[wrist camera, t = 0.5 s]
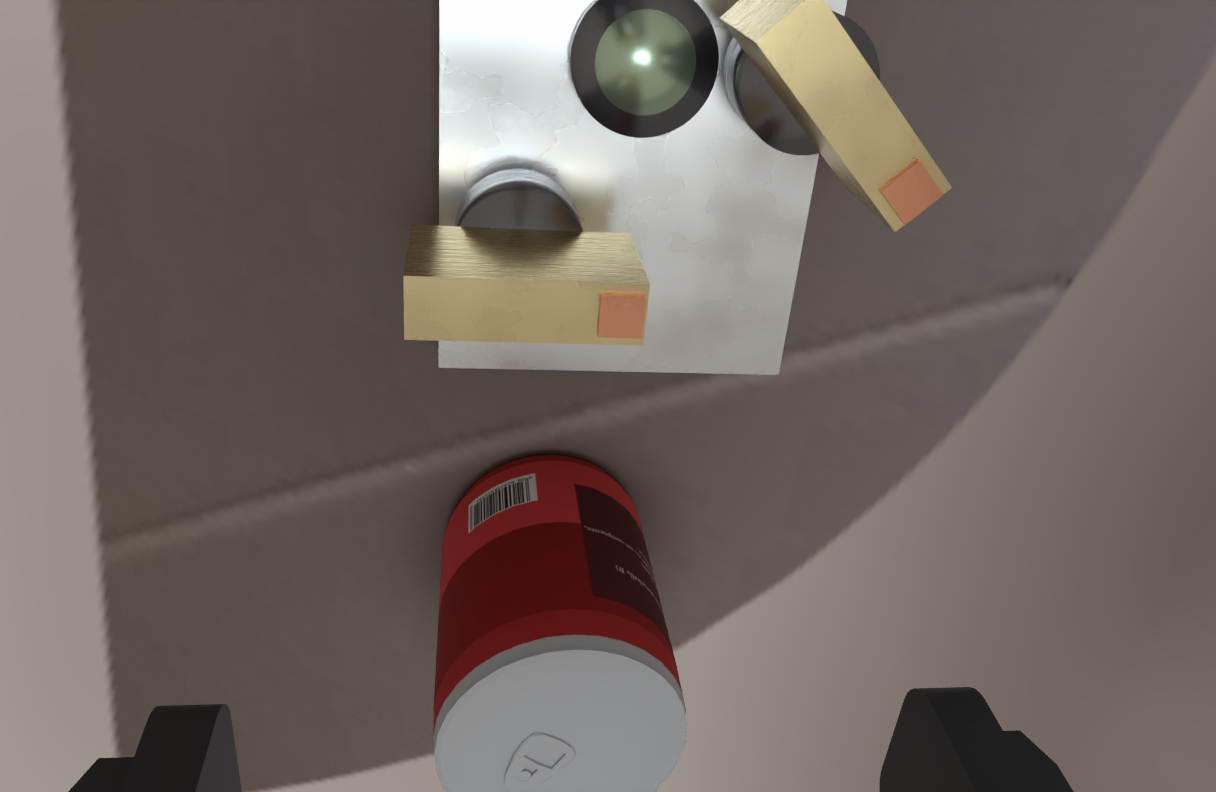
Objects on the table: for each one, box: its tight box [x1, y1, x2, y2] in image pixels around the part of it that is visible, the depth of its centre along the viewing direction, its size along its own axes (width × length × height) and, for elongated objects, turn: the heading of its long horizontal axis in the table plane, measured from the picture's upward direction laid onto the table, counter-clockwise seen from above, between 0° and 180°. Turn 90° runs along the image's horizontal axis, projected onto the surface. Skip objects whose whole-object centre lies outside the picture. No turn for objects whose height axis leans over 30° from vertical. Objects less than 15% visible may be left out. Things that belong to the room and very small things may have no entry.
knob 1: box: [403, 169, 650, 346], centre depth 29 cm, size 6×4×7 cm, turn 85°
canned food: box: [433, 455, 687, 792], centre depth 35 cm, size 8×8×11 cm
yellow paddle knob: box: [720, 0, 952, 232], centre depth 28 cm, size 6×4×7 cm, turn 40°
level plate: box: [439, 0, 847, 375], centre depth 30 cm, size 20×12×2 cm, turn 175°
